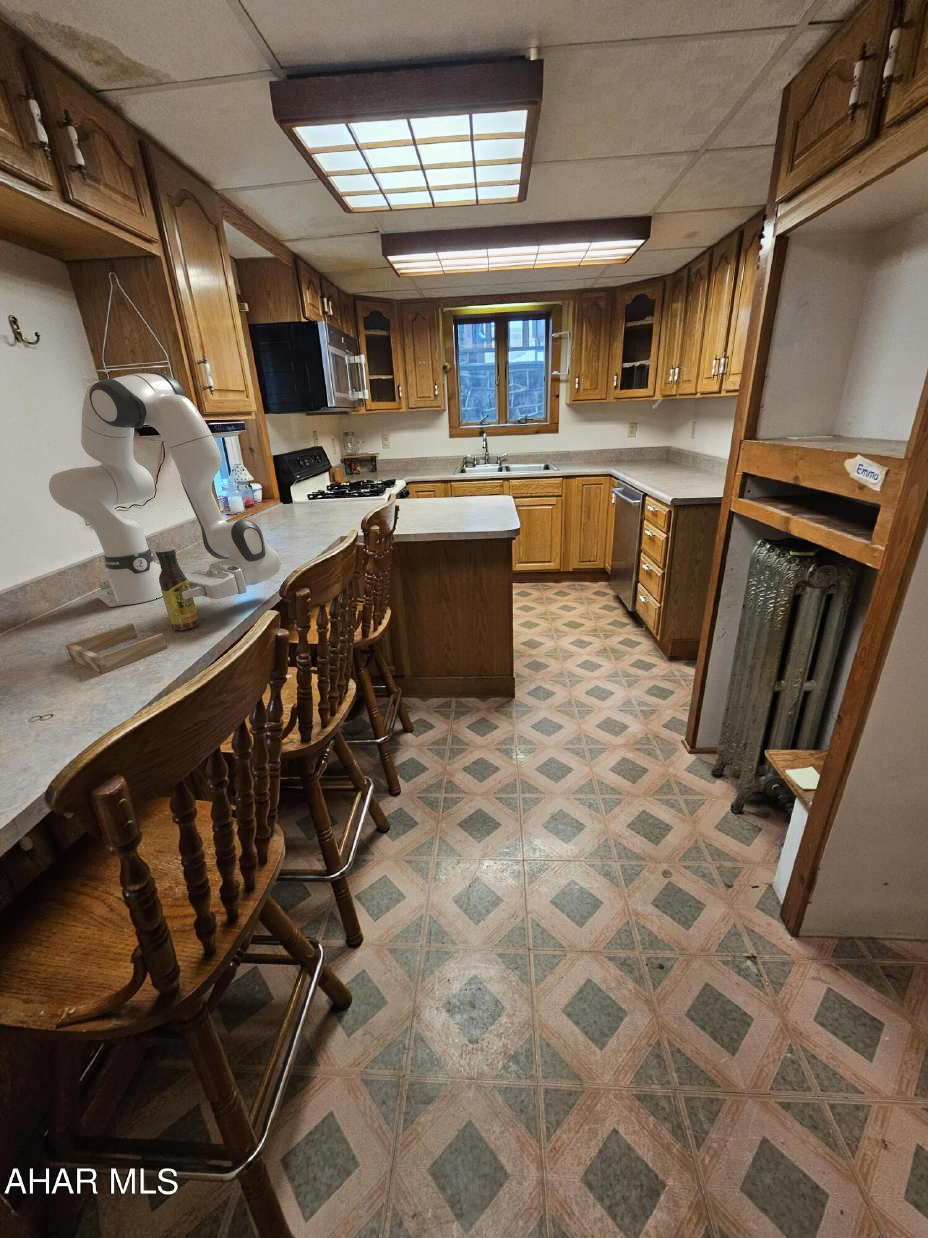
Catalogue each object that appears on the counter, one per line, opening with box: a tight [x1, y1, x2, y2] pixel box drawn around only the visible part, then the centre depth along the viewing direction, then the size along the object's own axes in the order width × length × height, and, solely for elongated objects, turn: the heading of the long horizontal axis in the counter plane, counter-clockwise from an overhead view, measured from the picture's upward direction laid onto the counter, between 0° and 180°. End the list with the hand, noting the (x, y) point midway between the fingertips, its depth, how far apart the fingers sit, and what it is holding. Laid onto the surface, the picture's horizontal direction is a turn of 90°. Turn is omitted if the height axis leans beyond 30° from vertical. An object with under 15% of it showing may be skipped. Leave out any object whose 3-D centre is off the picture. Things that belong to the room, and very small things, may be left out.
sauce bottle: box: [155, 547, 200, 631], centre depth 119 cm, size 6×6×20 cm
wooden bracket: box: [65, 622, 169, 675], centre depth 110 cm, size 16×14×4 cm
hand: (173, 593), depth 119 cm, fingers closed on sauce bottle, 6 cm apart
